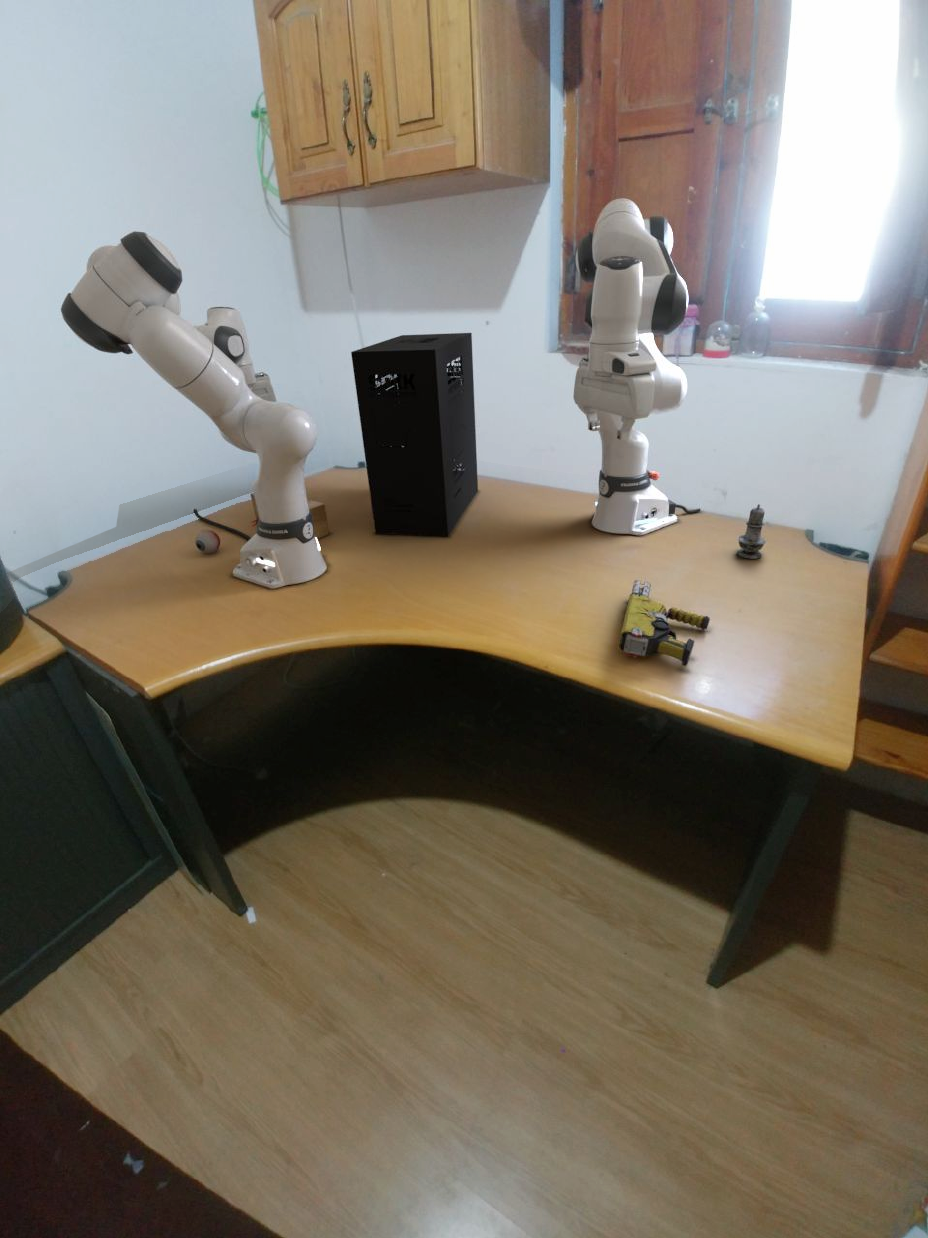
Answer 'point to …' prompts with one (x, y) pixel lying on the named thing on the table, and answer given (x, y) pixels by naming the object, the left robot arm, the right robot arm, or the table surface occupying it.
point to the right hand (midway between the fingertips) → (607, 434)
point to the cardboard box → (418, 431)
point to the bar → (317, 514)
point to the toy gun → (655, 627)
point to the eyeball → (207, 541)
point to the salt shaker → (752, 535)
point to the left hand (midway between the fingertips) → (249, 431)
